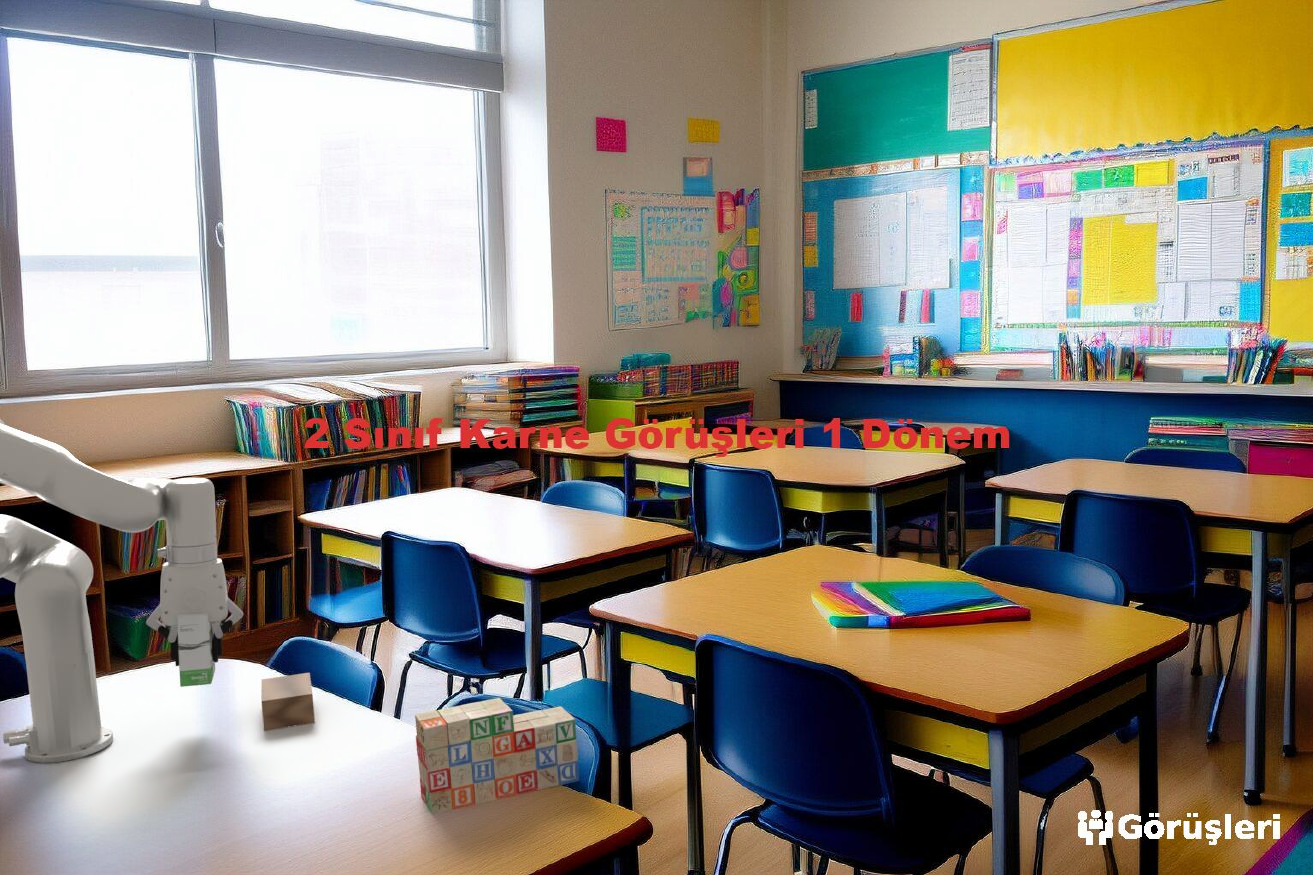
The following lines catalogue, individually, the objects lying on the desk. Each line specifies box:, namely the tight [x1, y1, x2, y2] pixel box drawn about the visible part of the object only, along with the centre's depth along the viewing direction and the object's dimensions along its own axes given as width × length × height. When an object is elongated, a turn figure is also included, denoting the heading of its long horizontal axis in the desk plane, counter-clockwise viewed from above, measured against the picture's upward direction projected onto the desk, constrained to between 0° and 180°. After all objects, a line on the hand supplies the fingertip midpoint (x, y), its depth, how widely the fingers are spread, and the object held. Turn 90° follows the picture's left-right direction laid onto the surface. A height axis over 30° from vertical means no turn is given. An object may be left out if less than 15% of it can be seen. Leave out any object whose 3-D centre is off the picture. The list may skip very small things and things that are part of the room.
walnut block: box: [260, 672, 316, 732], centre depth 190 cm, size 8×12×5 cm, turn 19°
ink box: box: [177, 613, 216, 688], centre depth 184 cm, size 9×5×12 cm, turn 17°
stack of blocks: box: [414, 697, 580, 814], centre depth 156 cm, size 21×6×12 cm, turn 114°
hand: (197, 660), depth 184 cm, fingers closed on ink box, 5 cm apart
